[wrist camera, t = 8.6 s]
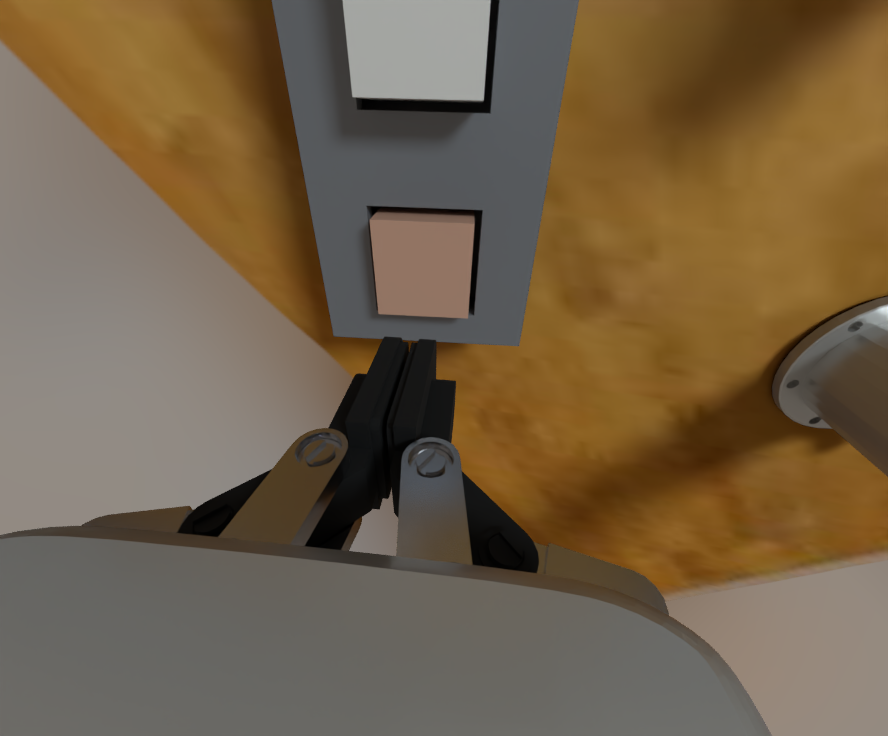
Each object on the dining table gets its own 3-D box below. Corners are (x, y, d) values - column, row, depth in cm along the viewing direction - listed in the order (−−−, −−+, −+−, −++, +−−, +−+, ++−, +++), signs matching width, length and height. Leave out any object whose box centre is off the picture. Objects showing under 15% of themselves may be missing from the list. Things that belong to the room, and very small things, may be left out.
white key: (491, -51, 15) (498, -113, 11) (480, 103, 18) (483, 100, 14) (368, -53, 15) (331, -114, 11) (378, 100, 18) (352, 97, 14)
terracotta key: (473, 202, 21) (474, 223, 17) (468, 284, 24) (467, 318, 20) (388, 199, 22) (369, 219, 18) (393, 281, 25) (378, 314, 21)
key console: (652, -676, 10) (827, -1437, 5) (510, 304, 27) (518, 346, 23) (234, -653, 10) (25, -1328, 6) (357, 297, 28) (333, 336, 23)
